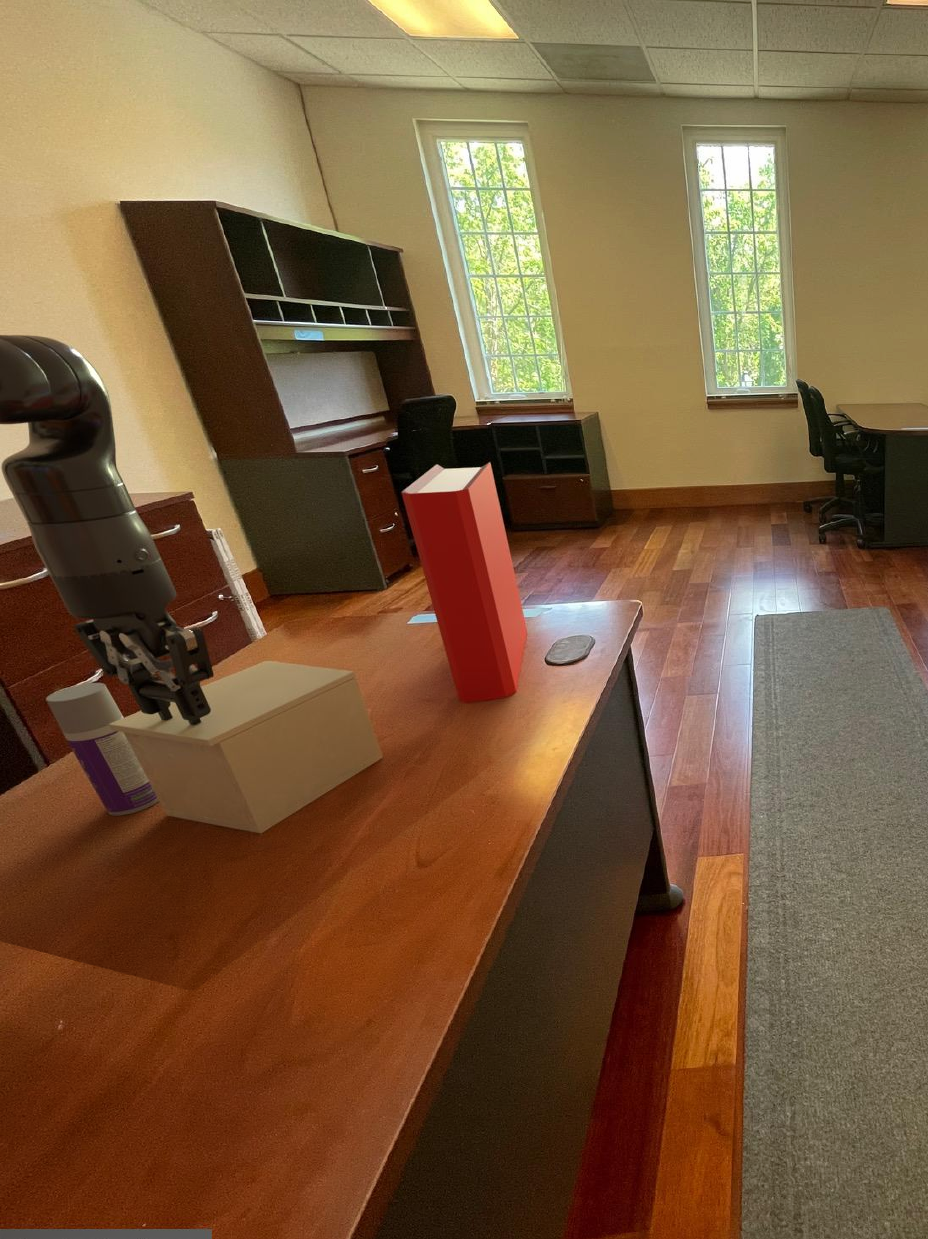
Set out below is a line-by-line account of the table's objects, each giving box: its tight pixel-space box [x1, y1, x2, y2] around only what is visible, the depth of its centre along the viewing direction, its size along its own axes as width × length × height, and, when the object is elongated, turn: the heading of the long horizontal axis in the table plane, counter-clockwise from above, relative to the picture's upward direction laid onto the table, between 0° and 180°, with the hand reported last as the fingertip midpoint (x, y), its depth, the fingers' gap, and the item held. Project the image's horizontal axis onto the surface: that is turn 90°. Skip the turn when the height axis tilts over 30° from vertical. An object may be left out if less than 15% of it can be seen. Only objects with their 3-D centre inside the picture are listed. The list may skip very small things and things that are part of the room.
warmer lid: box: [108, 660, 356, 746], centre depth 76 cm, size 17×14×5 cm
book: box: [401, 461, 528, 704], centre depth 108 cm, size 27×8×32 cm, turn 21°
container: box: [45, 682, 160, 817], centre depth 76 cm, size 5×5×15 cm
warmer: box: [123, 677, 384, 834], centre depth 80 cm, size 16×14×12 cm
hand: (178, 713), depth 71 cm, fingers closed on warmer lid, 5 cm apart
